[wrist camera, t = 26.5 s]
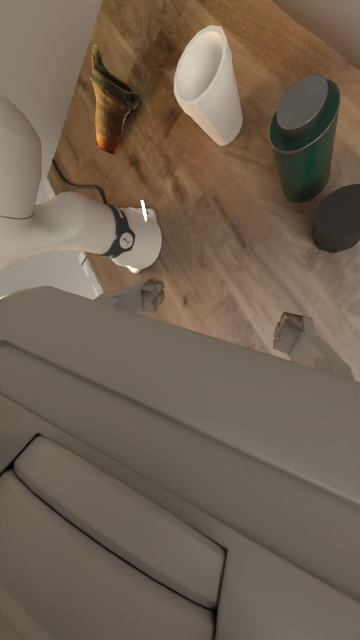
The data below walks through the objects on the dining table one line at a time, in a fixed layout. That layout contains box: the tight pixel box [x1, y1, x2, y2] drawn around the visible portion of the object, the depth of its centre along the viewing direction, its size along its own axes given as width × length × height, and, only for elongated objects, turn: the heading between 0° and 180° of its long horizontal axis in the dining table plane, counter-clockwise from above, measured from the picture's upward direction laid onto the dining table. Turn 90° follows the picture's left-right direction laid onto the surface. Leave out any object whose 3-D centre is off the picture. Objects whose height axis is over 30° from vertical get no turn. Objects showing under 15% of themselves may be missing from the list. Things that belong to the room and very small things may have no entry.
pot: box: [90, 43, 139, 154], centre depth 54 cm, size 17×11×18 cm
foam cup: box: [174, 25, 243, 146], centre depth 35 cm, size 10×9×13 cm
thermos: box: [269, 74, 340, 203], centre depth 27 cm, size 7×7×17 cm
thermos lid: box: [313, 184, 360, 253], centre depth 29 cm, size 7×7×9 cm
